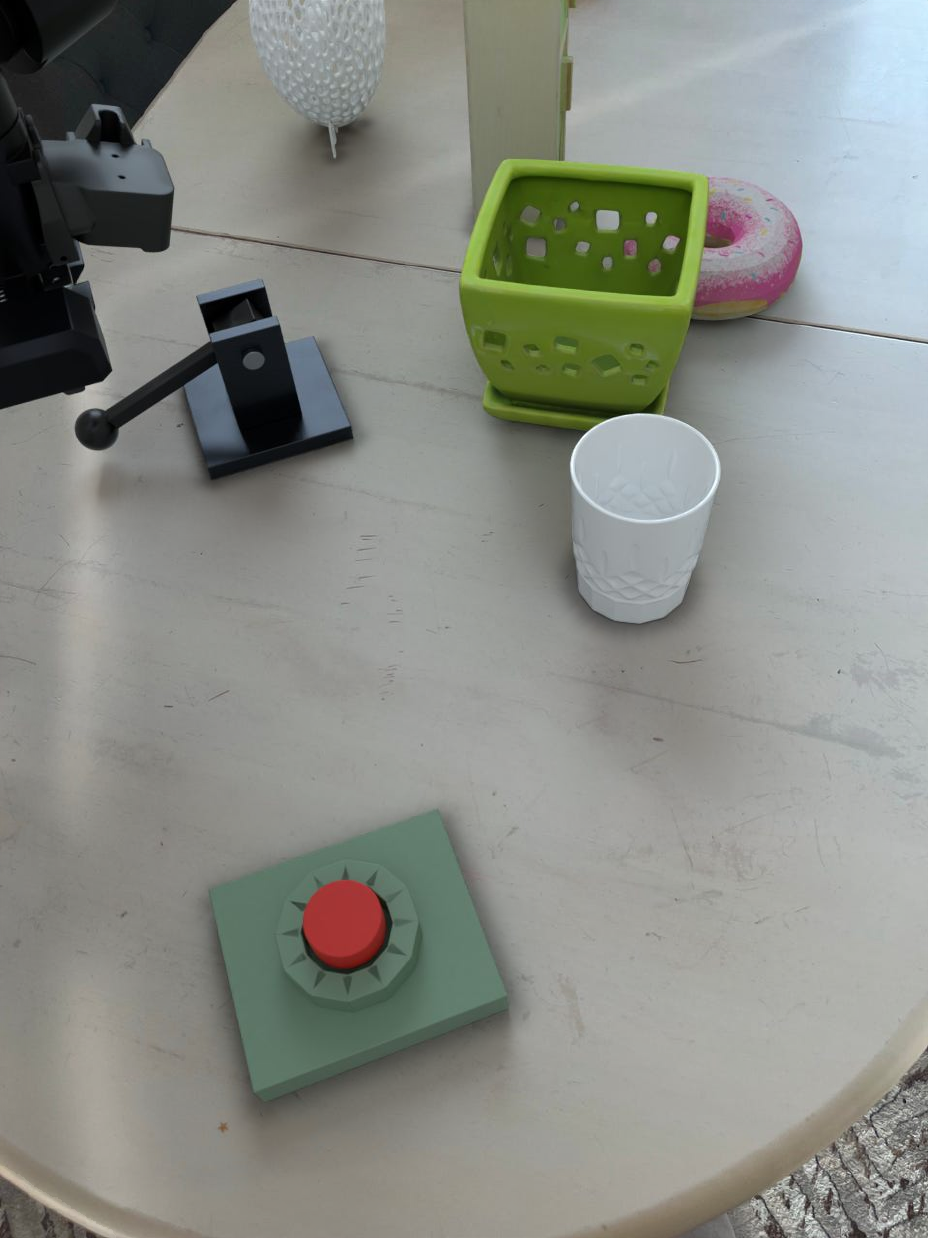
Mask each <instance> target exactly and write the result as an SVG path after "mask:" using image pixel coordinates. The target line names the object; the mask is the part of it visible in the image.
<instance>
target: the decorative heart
mask: <svg viewBox="0 0 928 1238" xmlns="http://www.w3.org/2000/svg"><path fill="white" fill-rule="evenodd" d="M290 1H291V7H290V6H289V5H288V4H289V0H248V18H249V27H250V33H251V37H252V38H251V39H252V41H253V45H254V48H255V49H254V50H255V51H256V55H257V58H258V61H259V63H260V65H261V67H262V69H263V72H264V74H265V76H266V78H267V79H268V82H270V84H271V86H272V87H273V88H274V90H275V91H276V93H277V94H278V95H279V97H280V98H281V99H282V100H283V101H284V103H286V104H287V105H288V106H289V107H290V108H291V109H292V110H293V111H295V112H296V113H297V114H298V115H300V116H301V117H302V118H305V119H306V120H308V121H310V122H313V123H315V124H317V125H320V126H322V127H325V128H328V133H329V139H330V145H331V150H332V151H331V152H332V156H333V159H336V158H337V150H336V145H337V141H338V140H337V135H336V133H339V128H341V127H345V126H349V124H351V123H353V122H354V121H355V120H357V119H358V118H359V117H360V116H361V115H362V114H363V113H364V112H365V110H366V109H367V107H368V106H369V105H370V103H371V101H372V99H373V97H374V95H375V93H376V91H377V88H378V86H379V83H380V78H381V75H382V71H383V68H384V61H385V52H386V37H387V35H386V12H385V9H386V8H385V0H303V1H304V2H303V5H302V4H301V1H300V0H290ZM355 3H356V6H355ZM339 8H340V13H339ZM348 12H349V17H348ZM297 13H300V19H298V17H297ZM284 17H285V19H284ZM291 18H292V22H293V23H292V24H291ZM266 19H267V21H266ZM278 21H279V22H278ZM354 28H355V29H354ZM274 32H275V33H274ZM275 34H276V35H275ZM286 34H288V39H289V40H288V45H287V41H286V38H287V37H286V36H287V35H286ZM346 35H347V36H346ZM295 40H296V42H295ZM296 45H297V46H296ZM292 59H293V61H291V60H292ZM367 61H368V66H367ZM349 64H350V65H349ZM335 66H336V71H335V72H334V67H335ZM361 76H362V80H361ZM360 80H361V82H360ZM341 81H343V83H341ZM352 84H353V85H352ZM343 92H345V93H344V95H342V94H343ZM325 106H326V107H325Z"/></svg>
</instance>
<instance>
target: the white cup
mask: <svg viewBox="0 0 928 1238" xmlns="http://www.w3.org/2000/svg"><path fill="white" fill-rule="evenodd" d="M569 463H570V464H569V472H570V508H571V511H570V512H571V533H572V534H571V535H572V543H573V544H572V547H573V549H572V550H573V556H574V558H575V574H576V582H577V588H578V589H577V590H578V593H579V594H580V596H582V598H583V600H584V601H585V602H586V603H587V604H588V606H589V607H590V609H591V610H592V611H594V612H596V613H598V614H599V615H601V616H604V617H606V618H608V619H610V620H612V621H613V622H621V623H629V624H638V625H641V624H645V623H647V622H652V621H656V620H659V619H662V618H665V617H667V616H668V615H669V614H670V613H671V612H673V611H674V610H675V609H676V608H677V607H678V606H679V605H681V604H682V602H683V600H684V597H685V595H686V592H687V589H688V588H689V584H690V581H691V577H692V574H693V573H692V572H693V571H694V569H695V568H696V565H697V562H698V559H699V555H700V554H701V550H702V547H703V542H704V540H705V537H706V536H705V535H706V532H707V528H708V525H709V522H710V517H711V513H712V510H713V506H714V502H715V498H716V495H717V491H718V488H719V485H720V481H721V474H722V472H721V471H722V467H721V461H720V458H719V455H718V453H717V451H716V449H715V448H714V446H713V444H712V443H711V442H710V440H709V439H708V438H707V437H706V435H704V434H703V433H702V432H700V431H699V430H697V428H695V427H693V426H691V425H689V424H688V423H686V422H683V421H681V420H679V419H676V418H673V417H670V416H667V415H663V416H662V415H656V414H629V415H623V416H618V417H615V418H612V419H609V420H606V421H604V422H602V423H600V424H598V425H596V426H595V427H593V428H592V429H590V430H589V431H586V433H585V434H583V436H581V437H580V438H579V440H578V442H577V443H576V445H575V447H574V449H573V451H572V453H571V457H570V462H569Z"/></svg>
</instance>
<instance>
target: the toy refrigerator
mask: <svg viewBox="0 0 928 1238" xmlns="http://www.w3.org/2000/svg"><path fill="white" fill-rule="evenodd" d="M577 7H578V0H462V9H463V12H462V13H463V30H464V34H463V35H464V50H465V52H464V53H465V70H466V71H465V73H466V91H467V93H466V94H467V111H468V128H469V129H468V132H469V151H470V171H471V172H470V173H471V191H472V193H471V194H472V211H473V212H472V213H473V226H474V225H475V222H476V220H477V217H478V214H479V212H480V209H481V206H482V204H483V201H484V198H485V196H486V194H487V191H488V189H489V186H490V184H491V182H492V180H493V177H494V175H495V173H496V171H497V169H498V168H499V166H500V164H501V163H502V162H503V161H504V160H507V159H537V160H553V161H566V131H567V130H566V129H567V112H569V111H571V109H572V97H573V76H574V75H573V73H574V56H572V55H569V38H570V37H569V35H570V33H569V32H570V9H576V8H577ZM539 214H540V210H538V209H536V208H534V207H532V206H526V207H525V209H524V210H523V212H522V214H521V216H520V218H521V219H523V220H525V221H528V222H530V223H533V222H535V221H536V219H537V218H538V216H539ZM557 224H558V219H556V220H554V226H555V229H556V230H557Z"/></svg>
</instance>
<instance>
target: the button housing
mask: <svg viewBox="0 0 928 1238" xmlns="http://www.w3.org/2000/svg"><path fill="white" fill-rule="evenodd" d="M339 880H353V881H357V882H360V883H362V884H364V885H366V886H367V887H369V888H370V889H371V890H372V891H373V892H374V893H375V895H376V896H377V898H378V900H379V902H380V905H381V907H382V910H383V913H384V916H385V920H386V934H385V938H384V941H383V944H382V946H381V948H380V949H379V951H378V952H377V953H376V955H375V956H374V957H373V958H371V959H370V960H369V961H368V962H366V963H364V964H362V965H360V966H358V967H354V968H349V969H340V968H335V967H332V966H329V965H327V964H325V963H324V962H323V961H321V960H320V959H319V958H318V957H317V956H316V954H315V953H314V951H313V949H312V948H311V946H310V944H309V942H308V940H307V938H306V936H305V933H304V929H303V915H304V911H305V908H306V906H307V904H308V902H309V900H310V899H311V897H312V896H313V895H314V894H315V893H316V892H317V891H318V890H319V889H320V888H322V887H323V886H325V885H327V884H329V883H331V882H334V881H339ZM208 895H209V898H210V903H211V907H212V912H213V917H214V921H215V925H216V929H217V934H218V939H219V942H220V948H221V952H222V956H223V957H222V958H223V962H224V965H225V970H226V975H227V979H228V984H229V988H230V993H231V997H232V1002H233V1006H234V1007H233V1008H234V1011H235V1015H236V1020H237V1024H238V1029H239V1033H240V1038H241V1042H242V1046H243V1052H244V1057H245V1060H246V1061H245V1062H246V1065H247V1070H248V1075H249V1080H250V1083H251V1087H252V1092H253V1093H254V1094H255V1095H256V1096H257V1097H258V1098H259V1099H260V1100H261V1101H262V1102H263V1103H267V1102H271V1101H273V1100H275V1099H277V1098H280V1097H283V1096H285V1095H287V1094H291V1093H292V1092H295V1091H299V1090H300V1089H303V1088H306V1087H308V1086H311V1085H314V1084H316V1083H319V1082H322V1081H325V1080H327V1079H330V1078H332V1077H334V1076H335V1077H336V1076H337V1075H339V1074H340V1075H341V1074H342V1073H345V1072H348V1071H350V1070H352V1069H355V1068H358V1067H360V1066H363V1065H365V1064H368V1063H371V1062H374V1061H376V1060H379V1059H382V1058H384V1057H387V1056H389V1055H391V1054H394V1053H397V1052H399V1051H402V1050H404V1049H407V1048H410V1047H413V1046H416V1045H417V1044H420V1043H423V1042H426V1041H428V1040H431V1039H434V1038H436V1037H439V1036H441V1035H444V1034H446V1033H448V1032H451V1031H454V1030H456V1029H459V1028H462V1027H464V1026H467V1025H470V1024H472V1023H475V1022H477V1021H481V1020H483V1019H485V1018H488V1017H490V1016H493V1015H496V1014H498V1013H501V1012H503V1011H506V1010H508V1009H509V1001H508V1000H509V999H508V993H507V990H506V988H505V984H504V982H503V980H502V979H503V978H502V977H501V974H500V971H499V968H498V966H497V963H496V961H495V957H494V955H493V952H492V949H491V948H490V944H489V942H488V939H487V937H486V934H485V931H484V928H483V926H482V923H481V920H480V918H479V915H478V913H477V909H476V907H475V904H474V902H473V898H472V896H471V894H470V891H469V888H468V886H467V882H466V880H465V877H464V875H463V872H462V870H461V867H460V865H459V861H458V859H457V856H456V853H455V850H454V847H453V845H452V842H451V840H450V837H449V835H448V831H447V828H446V826H445V824H444V821H443V818H442V815H441V813H440V810H439V809H438V808H435V809H432V810H429V811H427V812H423V813H421V814H420V813H419V814H418V815H415V816H412V817H409V818H407V819H404V820H401V821H398V822H395V823H393V824H389V825H387V826H383V827H381V828H379V829H378V828H377V829H374V830H372V831H369V832H367V833H364V834H360V835H358V836H355V837H353V838H349V839H346V840H344V841H341V842H338V843H336V844H335V843H334V844H333V845H329V846H327V847H324V848H321V849H318V850H316V851H312V852H310V853H307V854H304V855H302V856H299V857H298V856H297V857H295V858H292V859H290V860H286V861H284V862H281V863H278V864H276V865H273V866H270V867H267V868H264V869H260V870H259V871H256V872H253V873H249V874H247V875H244V876H241V877H238V878H235V879H233V880H229V881H227V882H224V883H222V884H219V885H216V886H213V887H210V888H208Z"/></svg>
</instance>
